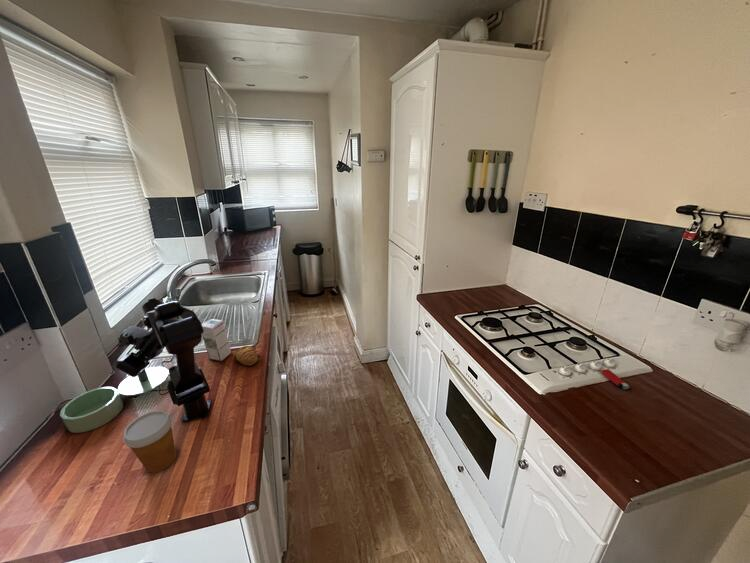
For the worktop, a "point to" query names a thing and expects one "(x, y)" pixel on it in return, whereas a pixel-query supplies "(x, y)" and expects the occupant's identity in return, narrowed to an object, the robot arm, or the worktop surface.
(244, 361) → the pastry
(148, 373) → the lid
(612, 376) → the lighter
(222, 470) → the worktop surface
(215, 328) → the syrup box
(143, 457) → the disposable coffee cup
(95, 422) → the pot
